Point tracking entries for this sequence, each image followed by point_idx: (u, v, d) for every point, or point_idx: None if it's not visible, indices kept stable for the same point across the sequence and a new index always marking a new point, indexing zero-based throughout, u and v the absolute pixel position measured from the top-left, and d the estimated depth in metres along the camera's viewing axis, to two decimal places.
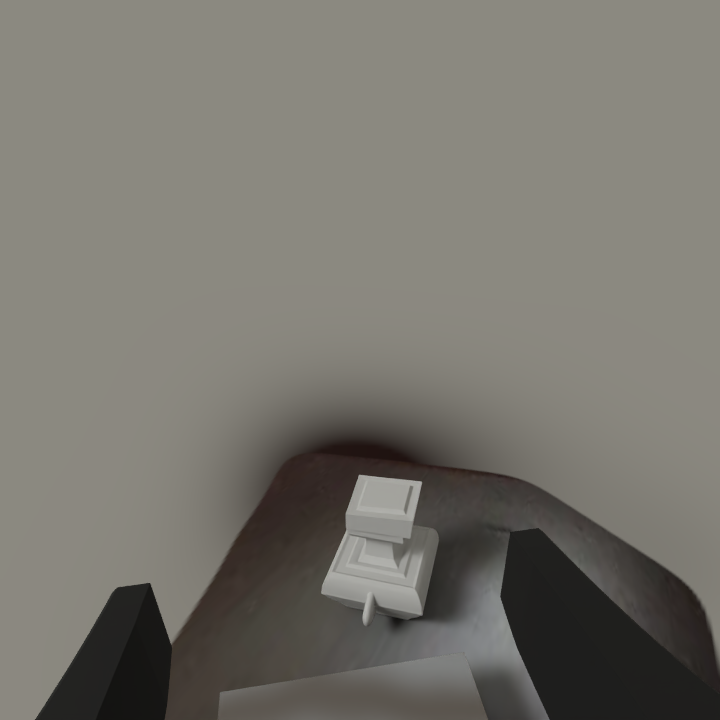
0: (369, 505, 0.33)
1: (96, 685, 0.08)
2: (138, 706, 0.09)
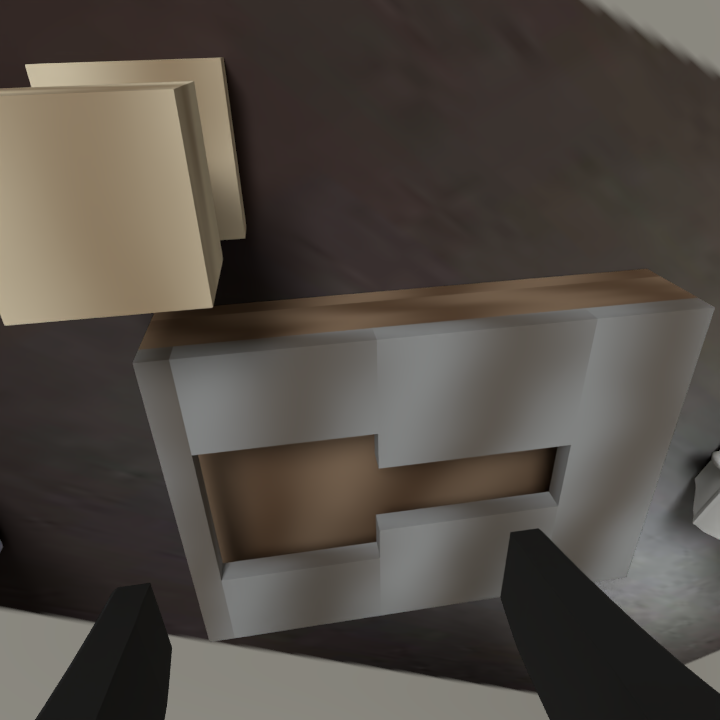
0: None
1: (96, 685, 0.08)
2: (138, 706, 0.09)
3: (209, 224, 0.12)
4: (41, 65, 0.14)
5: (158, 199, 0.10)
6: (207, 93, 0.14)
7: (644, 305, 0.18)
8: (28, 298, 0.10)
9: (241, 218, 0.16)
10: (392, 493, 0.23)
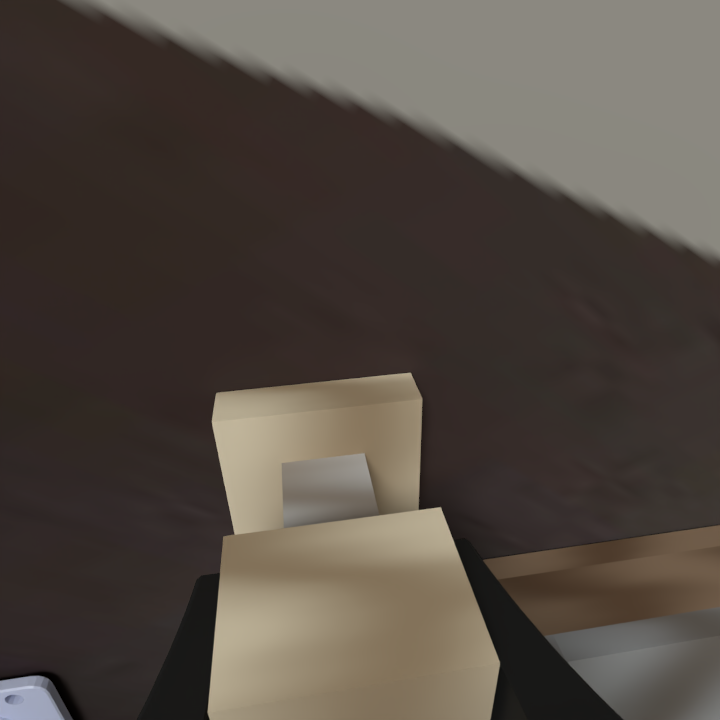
0: None
1: (201, 668, 0.08)
2: None
3: None
4: (229, 422, 0.12)
5: None
6: (402, 429, 0.13)
7: None
8: None
9: None
10: None
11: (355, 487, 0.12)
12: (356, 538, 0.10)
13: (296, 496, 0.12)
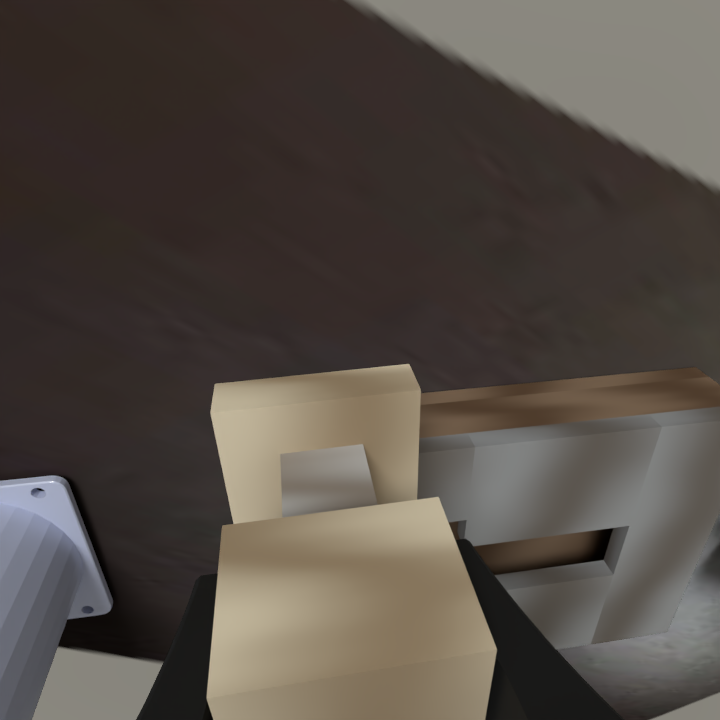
0: None
1: (201, 668, 0.08)
2: None
3: None
4: (228, 412, 0.12)
5: None
6: (401, 420, 0.13)
7: (700, 412, 0.20)
8: None
9: None
10: None
11: (354, 477, 0.12)
12: (354, 527, 0.10)
13: (294, 486, 0.12)
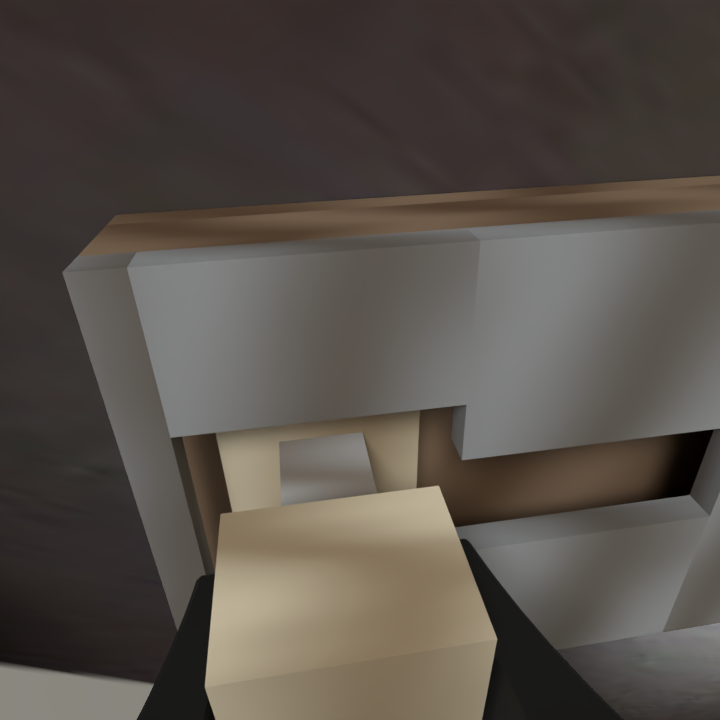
0: None
1: (201, 668, 0.08)
2: None
3: None
4: None
5: (447, 710, 0.08)
6: None
7: None
8: None
9: None
10: (458, 496, 0.16)
11: (353, 466, 0.12)
12: (354, 516, 0.09)
13: (293, 475, 0.12)
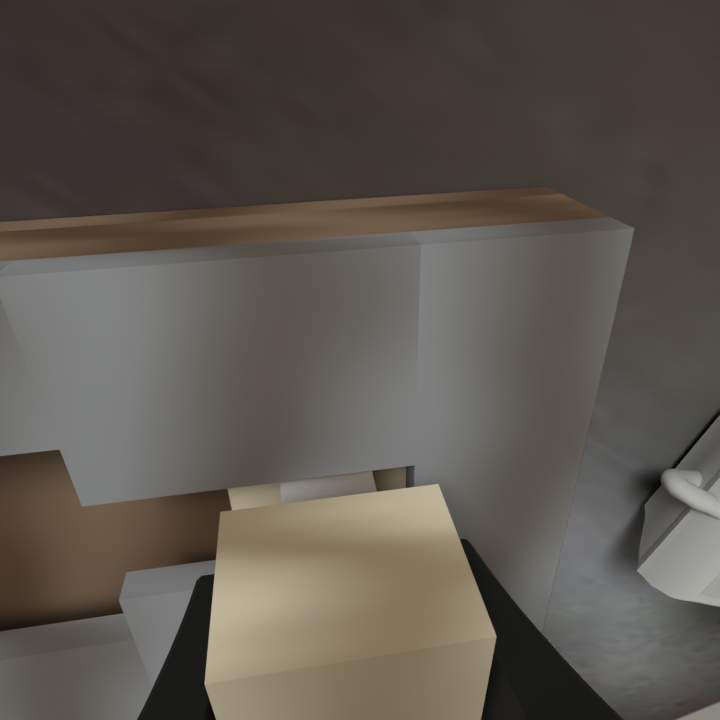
0: None
1: (201, 668, 0.08)
2: None
3: None
4: None
5: (446, 708, 0.08)
6: None
7: (514, 227, 0.10)
8: None
9: None
10: (188, 532, 0.16)
11: None
12: (353, 514, 0.09)
13: None
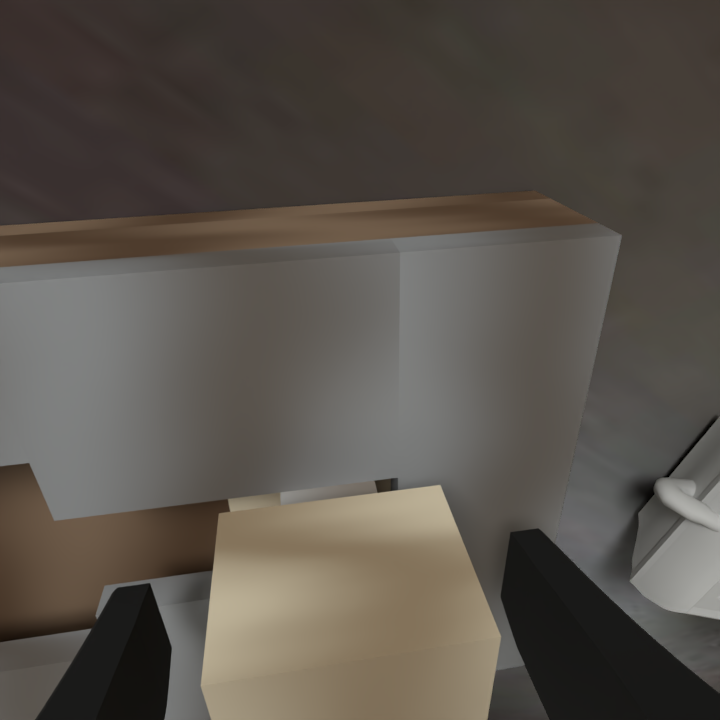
0: None
1: (96, 685, 0.08)
2: (138, 706, 0.09)
3: None
4: None
5: (450, 714, 0.08)
6: None
7: (498, 233, 0.10)
8: None
9: None
10: (171, 542, 0.15)
11: None
12: (354, 515, 0.09)
13: None
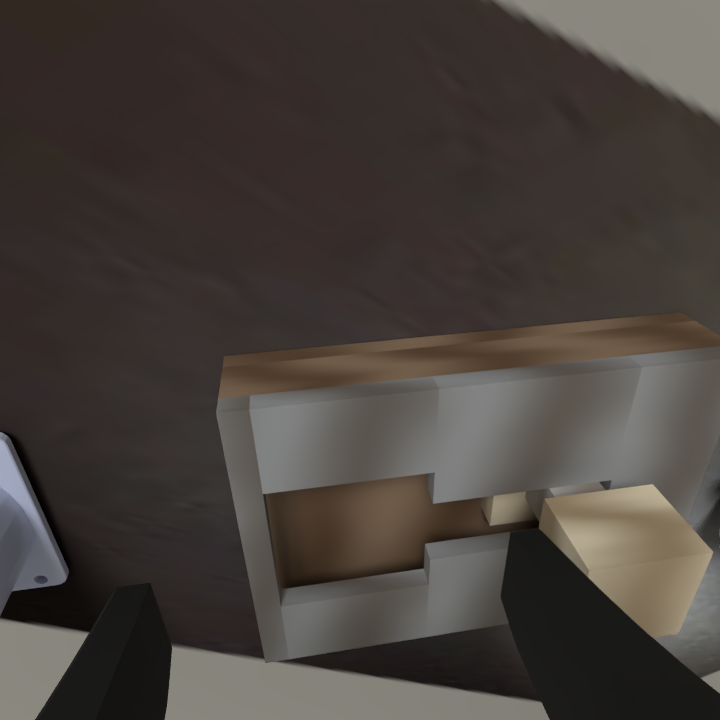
0: None
1: (96, 685, 0.08)
2: (138, 706, 0.09)
3: None
4: None
5: (679, 593, 0.17)
6: None
7: (684, 353, 0.19)
8: None
9: None
10: (436, 520, 0.24)
11: None
12: (615, 499, 0.18)
13: None
